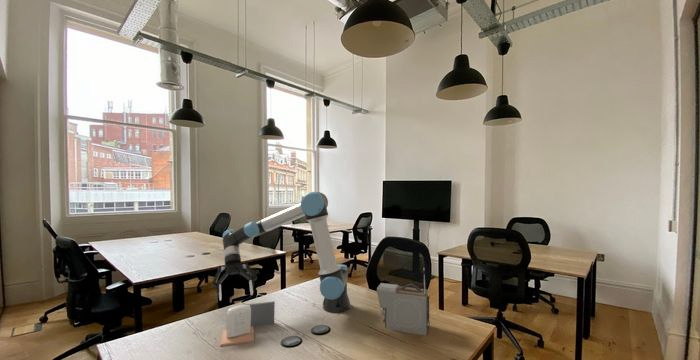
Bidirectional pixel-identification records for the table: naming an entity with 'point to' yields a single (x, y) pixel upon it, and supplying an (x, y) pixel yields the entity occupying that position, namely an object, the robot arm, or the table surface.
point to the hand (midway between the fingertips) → (236, 296)
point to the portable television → (404, 307)
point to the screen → (262, 313)
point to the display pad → (237, 338)
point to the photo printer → (238, 321)
